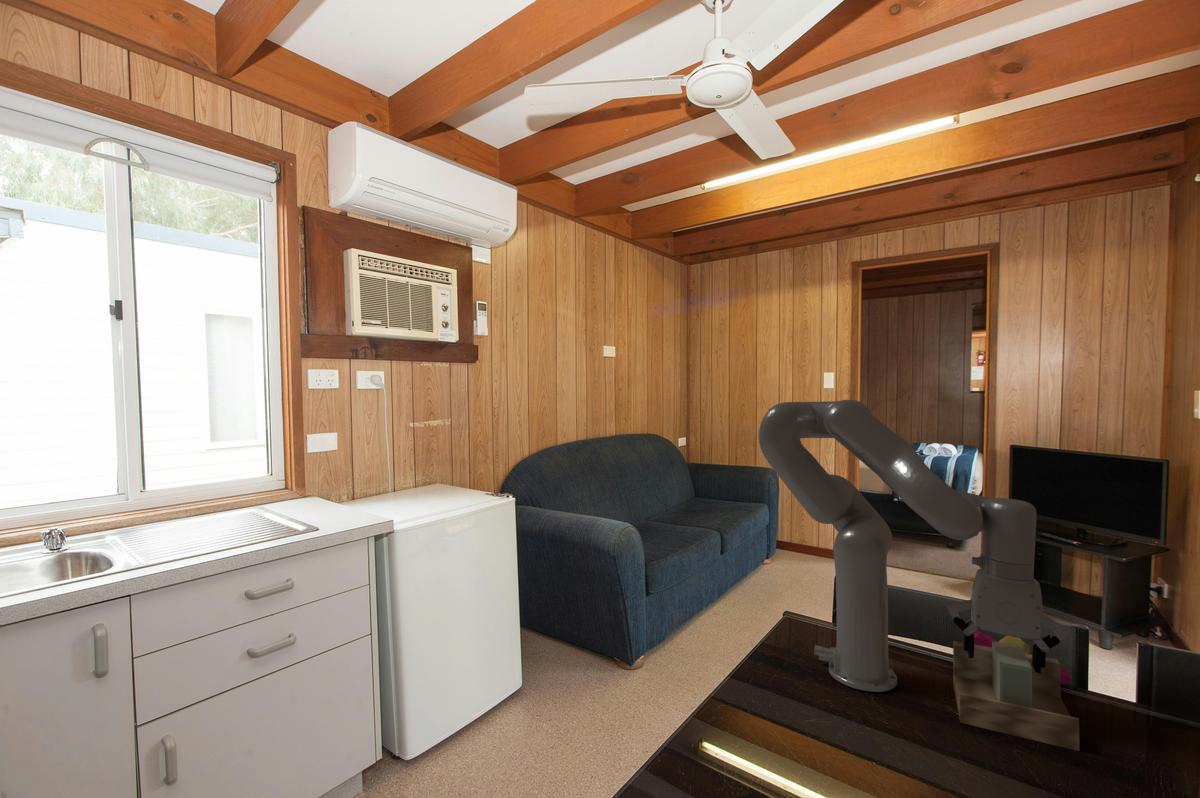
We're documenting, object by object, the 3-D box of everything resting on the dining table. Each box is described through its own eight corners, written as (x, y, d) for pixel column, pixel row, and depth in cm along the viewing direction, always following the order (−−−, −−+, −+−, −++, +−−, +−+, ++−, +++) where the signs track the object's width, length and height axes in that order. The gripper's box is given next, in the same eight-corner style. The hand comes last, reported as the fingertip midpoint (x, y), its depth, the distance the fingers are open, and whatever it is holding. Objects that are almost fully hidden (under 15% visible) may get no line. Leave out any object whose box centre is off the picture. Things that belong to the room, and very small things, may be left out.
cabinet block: (1000, 708, 93) (999, 662, 93) (992, 683, 101) (992, 641, 101) (1032, 715, 91) (1031, 668, 91) (1021, 689, 99) (1021, 646, 99)
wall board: (960, 722, 94) (959, 671, 94) (953, 686, 106) (953, 640, 106) (1079, 751, 86) (1078, 695, 86) (1057, 708, 98) (1057, 659, 98)
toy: (1078, 709, 100) (1083, 652, 103) (970, 667, 105) (978, 614, 108) (1046, 702, 109) (1051, 650, 112) (948, 664, 114) (956, 615, 117)
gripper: (951, 565, 97) (947, 658, 98) (1075, 584, 89) (1070, 686, 89) (948, 554, 104) (944, 641, 104) (1063, 571, 96) (1058, 666, 96)
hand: (1002, 662), depth 97 cm, fingers open, 9 cm apart
